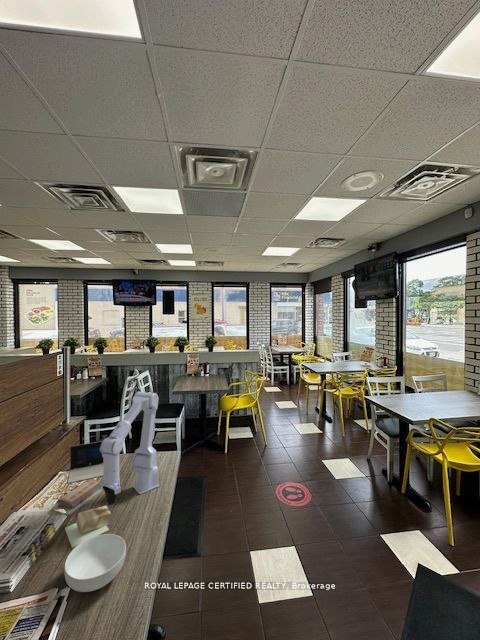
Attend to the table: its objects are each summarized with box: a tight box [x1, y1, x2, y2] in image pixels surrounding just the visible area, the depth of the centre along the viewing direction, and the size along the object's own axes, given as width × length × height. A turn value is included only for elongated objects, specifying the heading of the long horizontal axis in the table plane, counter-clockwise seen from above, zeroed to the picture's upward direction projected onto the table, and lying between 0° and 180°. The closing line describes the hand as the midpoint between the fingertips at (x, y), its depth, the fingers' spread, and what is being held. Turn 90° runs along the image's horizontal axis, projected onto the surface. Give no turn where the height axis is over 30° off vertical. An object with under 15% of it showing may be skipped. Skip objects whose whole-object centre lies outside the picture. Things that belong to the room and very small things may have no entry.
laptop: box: [67, 440, 104, 484], centre depth 143 cm, size 18×12×13 cm
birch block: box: [76, 505, 112, 533], centre depth 107 cm, size 4×6×10 cm
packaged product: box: [51, 478, 104, 516], centre depth 122 cm, size 18×5×10 cm
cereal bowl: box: [63, 533, 127, 593], centre depth 86 cm, size 17×17×7 cm
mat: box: [64, 522, 110, 549], centre depth 105 cm, size 12×12×1 cm
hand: (111, 503), depth 111 cm, fingers closed
